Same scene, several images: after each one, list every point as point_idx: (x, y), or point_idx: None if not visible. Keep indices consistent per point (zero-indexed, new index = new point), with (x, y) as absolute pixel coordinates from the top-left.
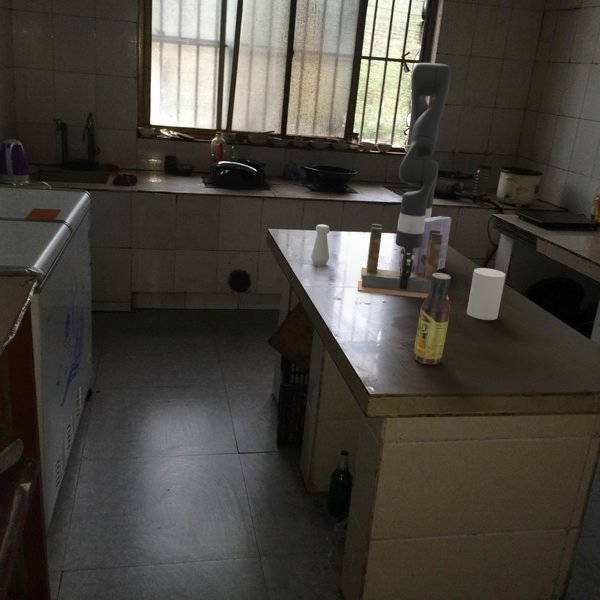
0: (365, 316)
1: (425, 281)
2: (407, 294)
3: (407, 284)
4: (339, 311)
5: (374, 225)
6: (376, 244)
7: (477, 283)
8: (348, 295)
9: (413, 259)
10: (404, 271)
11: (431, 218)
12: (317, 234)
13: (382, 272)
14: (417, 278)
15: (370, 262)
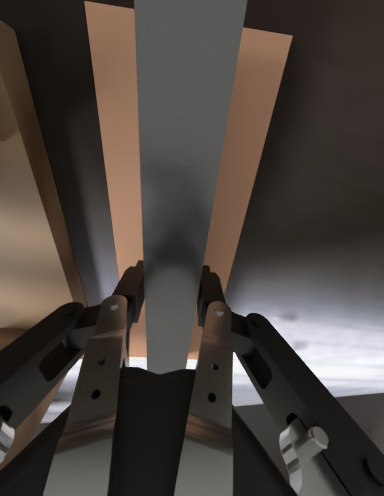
0: (378, 353)
1: (212, 203)
2: (233, 257)
3: (211, 277)
4: (336, 380)
5: None
6: None
7: None
8: (240, 368)
9: (230, 437)
10: (130, 315)
11: None
12: None
13: (21, 314)
14: (159, 240)
15: (51, 393)
